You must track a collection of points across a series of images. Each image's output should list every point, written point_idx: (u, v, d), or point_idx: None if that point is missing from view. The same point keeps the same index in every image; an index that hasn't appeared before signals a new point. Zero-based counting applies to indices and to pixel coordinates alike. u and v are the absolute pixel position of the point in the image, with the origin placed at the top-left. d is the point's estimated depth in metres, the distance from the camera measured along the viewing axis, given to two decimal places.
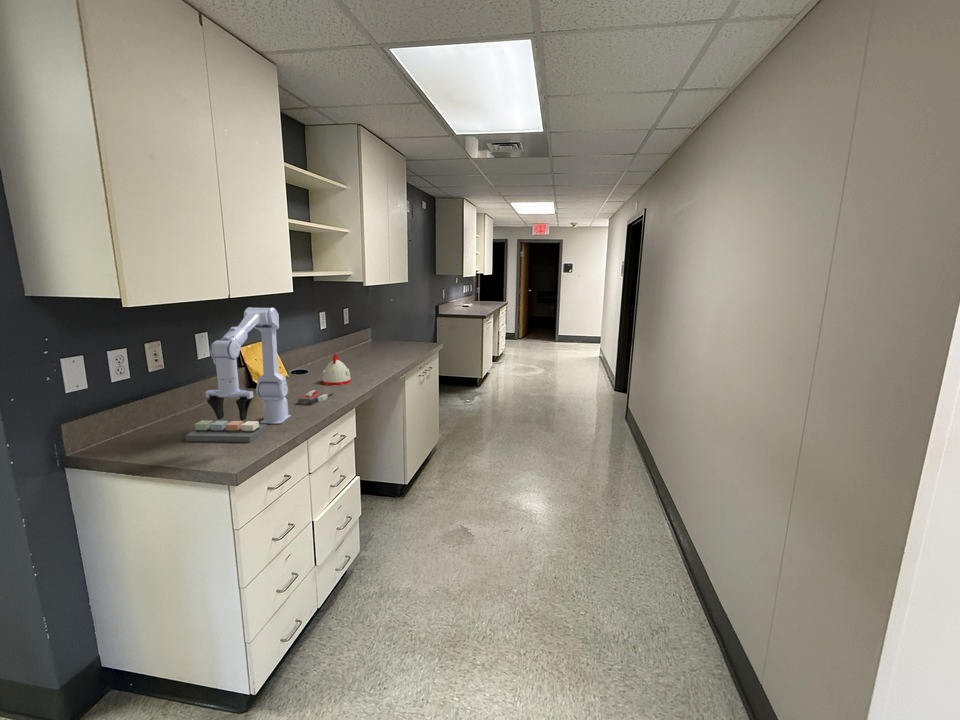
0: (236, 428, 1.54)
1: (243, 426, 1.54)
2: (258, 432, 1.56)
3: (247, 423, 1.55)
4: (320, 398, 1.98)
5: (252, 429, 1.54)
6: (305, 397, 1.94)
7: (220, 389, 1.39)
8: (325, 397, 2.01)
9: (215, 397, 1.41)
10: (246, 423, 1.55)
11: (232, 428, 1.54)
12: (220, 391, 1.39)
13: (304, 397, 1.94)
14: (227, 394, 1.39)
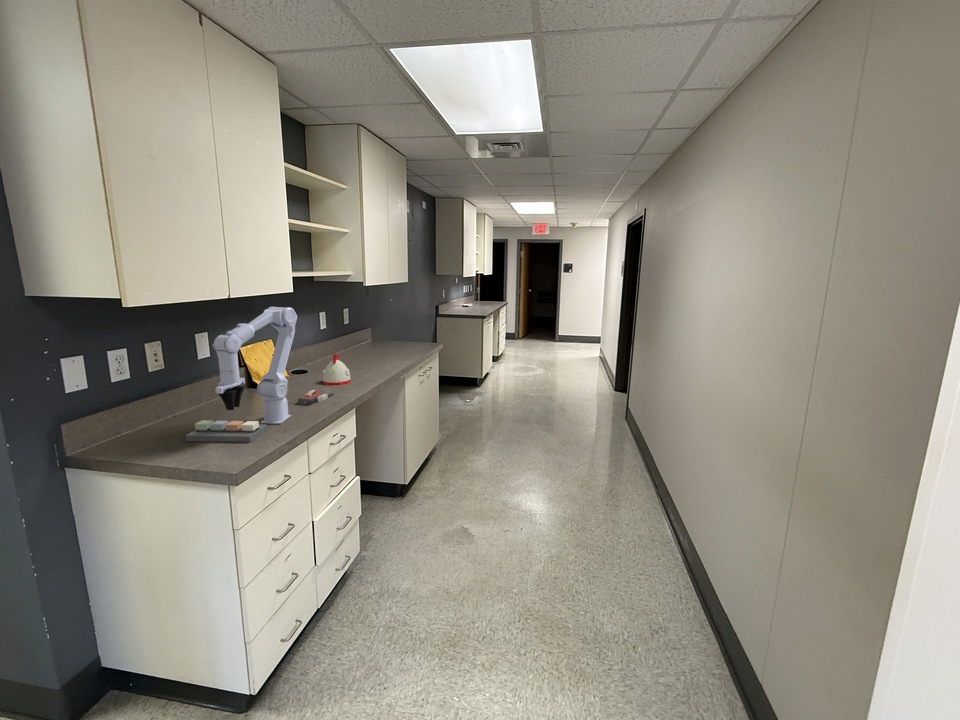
0: (236, 428, 1.54)
1: (243, 426, 1.54)
2: (258, 432, 1.56)
3: (247, 423, 1.55)
4: (320, 398, 1.98)
5: (252, 429, 1.54)
6: (305, 397, 1.94)
7: None
8: (325, 397, 2.01)
9: None
10: (246, 423, 1.55)
11: (232, 428, 1.54)
12: None
13: (304, 397, 1.94)
14: None
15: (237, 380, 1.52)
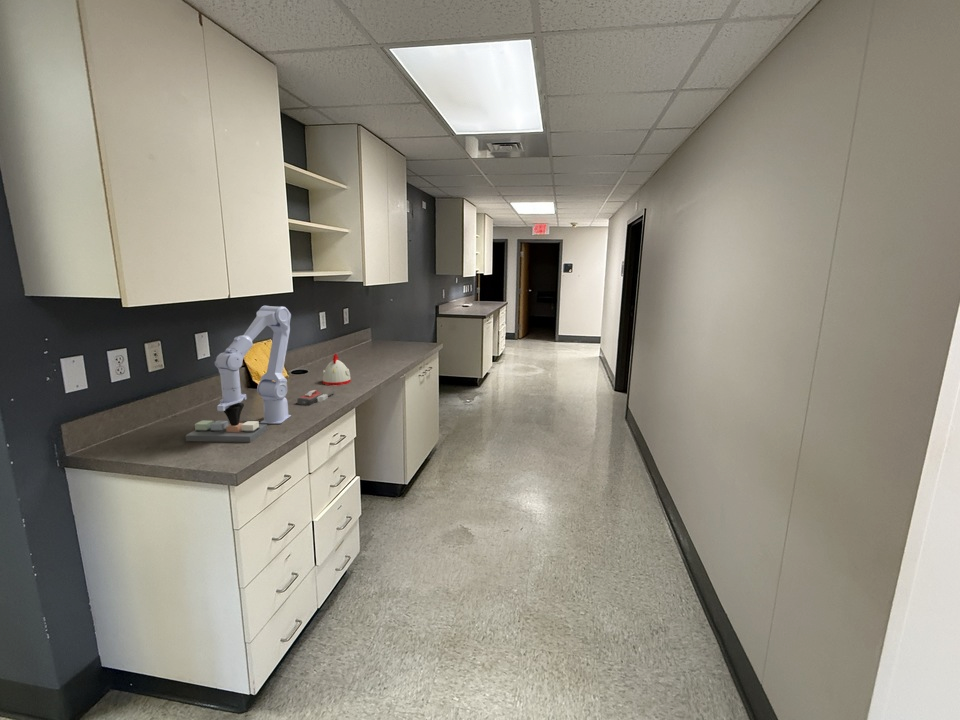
0: (236, 430, 1.54)
1: (243, 426, 1.54)
2: (258, 432, 1.56)
3: (247, 423, 1.55)
4: (319, 398, 1.98)
5: (252, 429, 1.54)
6: (304, 397, 1.94)
7: None
8: (325, 397, 2.00)
9: None
10: (246, 423, 1.55)
11: (232, 430, 1.54)
12: None
13: (303, 397, 1.94)
14: (222, 400, 1.53)
15: (239, 397, 1.53)
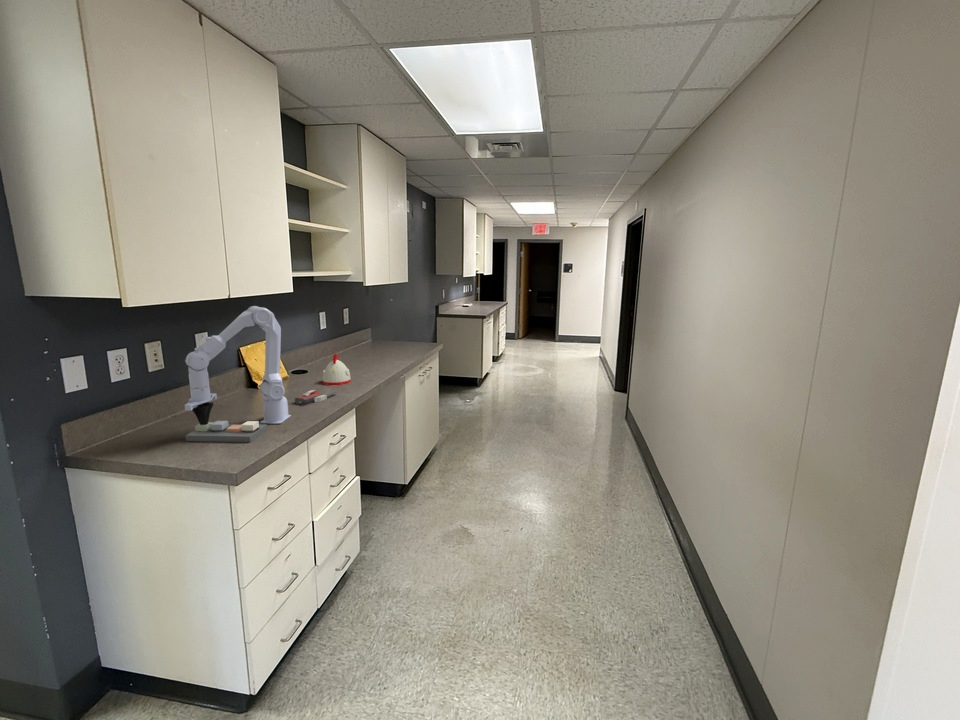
0: None
1: (243, 426, 1.54)
2: (258, 432, 1.56)
3: (247, 423, 1.55)
4: (317, 398, 1.97)
5: (252, 429, 1.54)
6: (301, 397, 1.95)
7: None
8: (323, 398, 1.99)
9: None
10: (246, 423, 1.55)
11: None
12: None
13: (301, 396, 1.95)
14: None
15: (207, 396, 1.53)
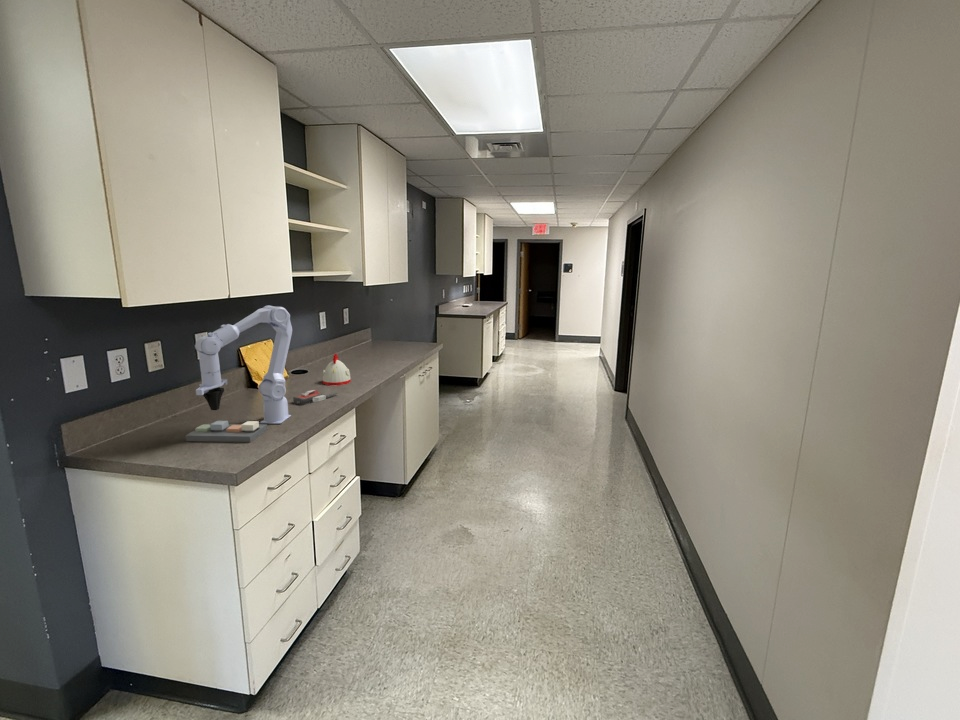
0: None
1: (243, 426, 1.54)
2: (258, 432, 1.56)
3: (247, 423, 1.55)
4: (315, 398, 1.97)
5: (252, 429, 1.54)
6: (300, 396, 1.95)
7: None
8: (322, 398, 1.99)
9: None
10: (246, 423, 1.55)
11: None
12: None
13: (299, 396, 1.95)
14: None
15: (218, 381, 1.52)
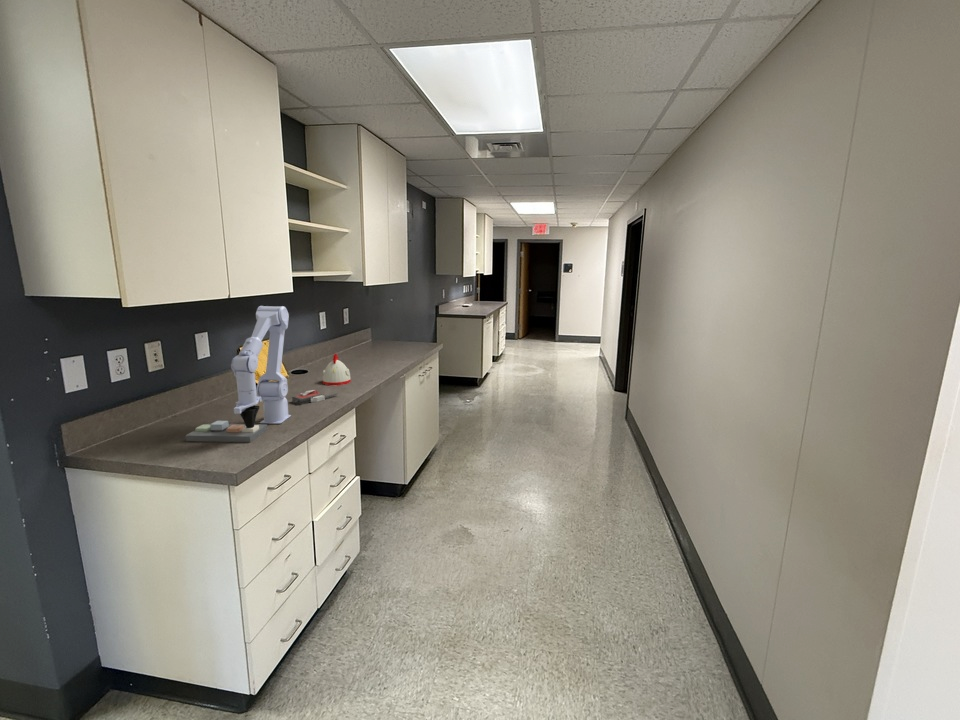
0: None
1: (243, 430, 1.54)
2: (258, 432, 1.56)
3: None
4: (313, 399, 1.96)
5: None
6: (298, 396, 1.96)
7: None
8: (320, 398, 1.98)
9: None
10: (246, 427, 1.55)
11: None
12: None
13: (298, 396, 1.96)
14: (238, 403, 1.53)
15: (254, 399, 1.53)
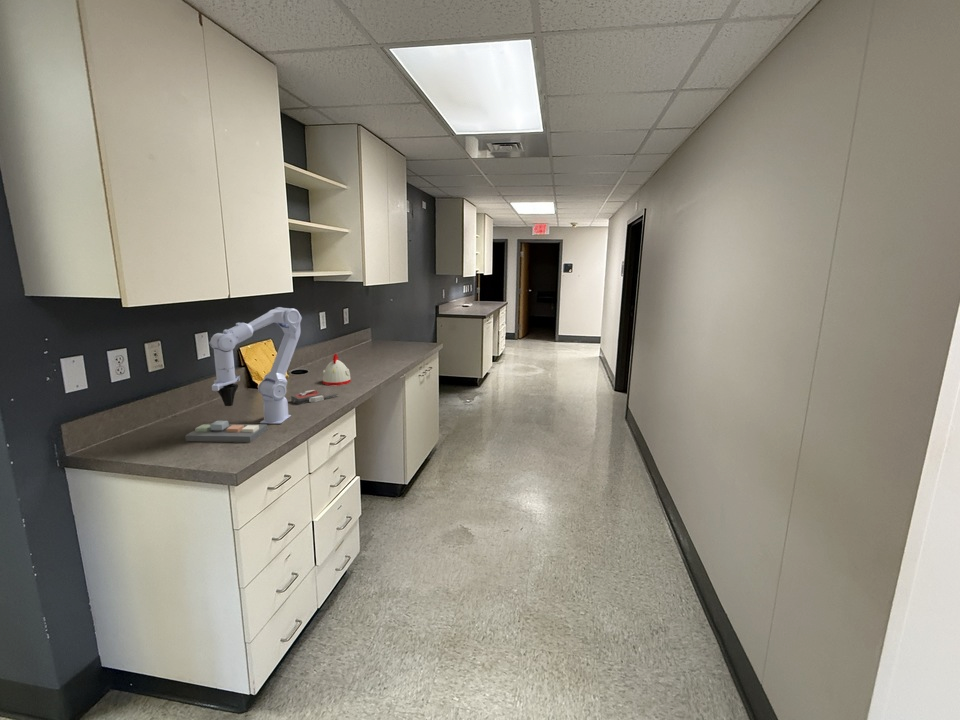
0: None
1: (243, 430, 1.54)
2: (258, 432, 1.56)
3: (248, 427, 1.55)
4: (312, 399, 1.96)
5: None
6: (297, 396, 1.96)
7: None
8: (319, 398, 1.98)
9: None
10: (246, 427, 1.55)
11: None
12: None
13: (297, 395, 1.96)
14: (216, 381, 1.54)
15: (233, 378, 1.54)
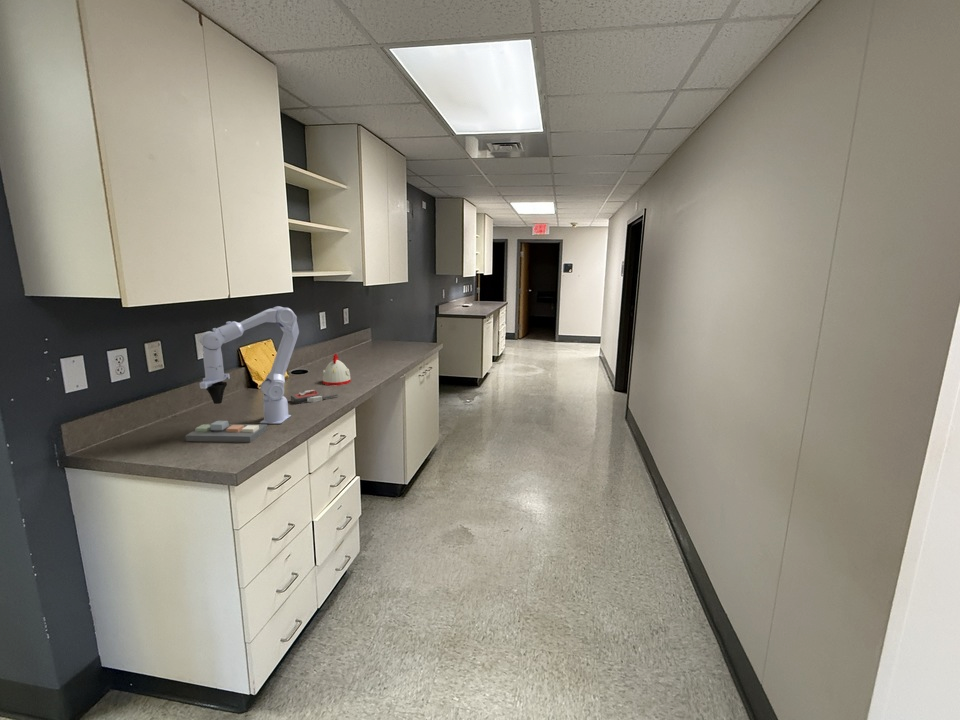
0: None
1: (243, 430, 1.54)
2: (258, 432, 1.56)
3: (248, 427, 1.55)
4: (310, 399, 1.96)
5: None
6: (296, 395, 1.97)
7: None
8: (317, 399, 1.98)
9: None
10: (246, 427, 1.55)
11: None
12: None
13: (296, 395, 1.97)
14: (205, 379, 1.56)
15: (221, 376, 1.56)
